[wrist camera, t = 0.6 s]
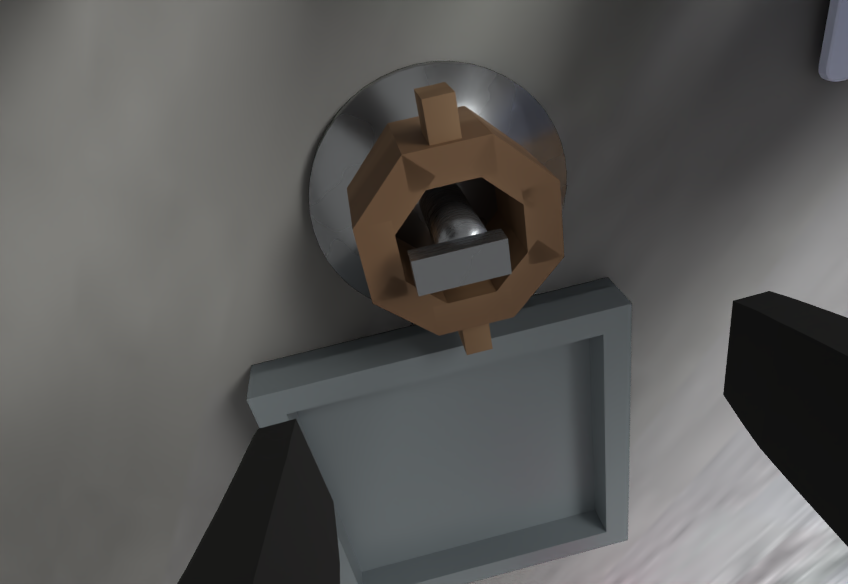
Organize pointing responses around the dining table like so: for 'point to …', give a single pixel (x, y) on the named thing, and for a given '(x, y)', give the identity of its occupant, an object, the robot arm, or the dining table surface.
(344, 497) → the tray
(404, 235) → the grey round piece
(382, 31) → the dining table surface
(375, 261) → the ring
